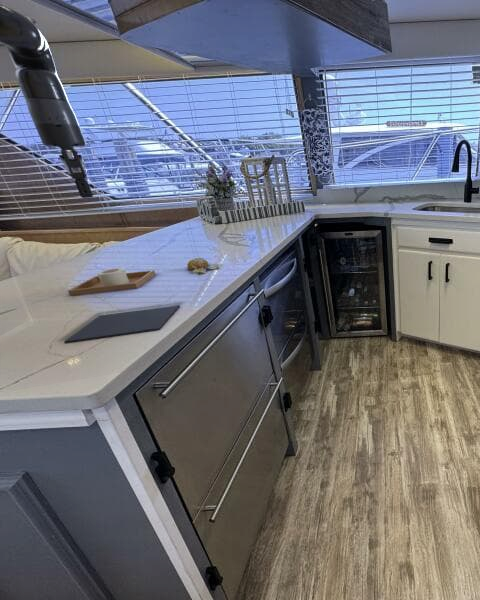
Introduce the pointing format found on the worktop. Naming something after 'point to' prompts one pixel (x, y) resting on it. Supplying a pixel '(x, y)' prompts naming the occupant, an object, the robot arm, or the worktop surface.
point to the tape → (113, 277)
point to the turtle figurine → (199, 266)
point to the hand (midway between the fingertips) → (87, 196)
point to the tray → (96, 287)
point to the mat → (124, 323)
